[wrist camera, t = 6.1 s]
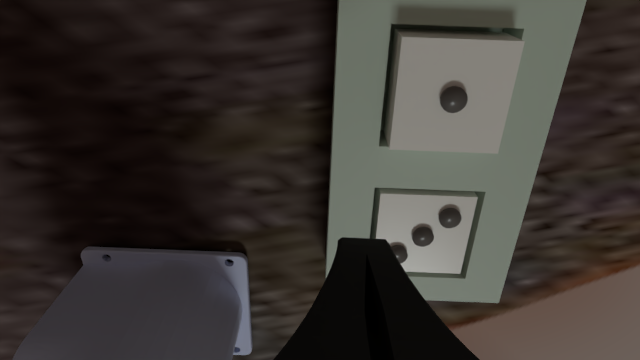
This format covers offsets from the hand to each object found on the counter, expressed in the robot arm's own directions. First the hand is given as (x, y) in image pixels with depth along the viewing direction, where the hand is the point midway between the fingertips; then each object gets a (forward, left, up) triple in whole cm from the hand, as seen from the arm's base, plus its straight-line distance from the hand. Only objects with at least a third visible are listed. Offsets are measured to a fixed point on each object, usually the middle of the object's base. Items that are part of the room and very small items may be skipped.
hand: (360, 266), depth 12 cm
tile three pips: (+4, -4, -9) cm, 11 cm away
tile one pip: (+4, +3, -8) cm, 10 cm away
